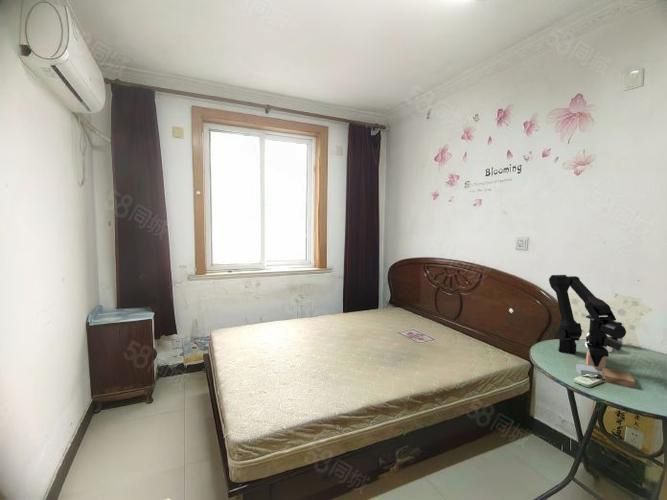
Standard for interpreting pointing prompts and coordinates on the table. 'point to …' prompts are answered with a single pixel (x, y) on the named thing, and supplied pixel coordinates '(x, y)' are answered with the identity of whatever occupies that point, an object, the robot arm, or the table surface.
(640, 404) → the table surface
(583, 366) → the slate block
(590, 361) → the terracotta block
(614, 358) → the table surface
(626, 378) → the walnut block
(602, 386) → the table surface
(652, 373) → the table surface
